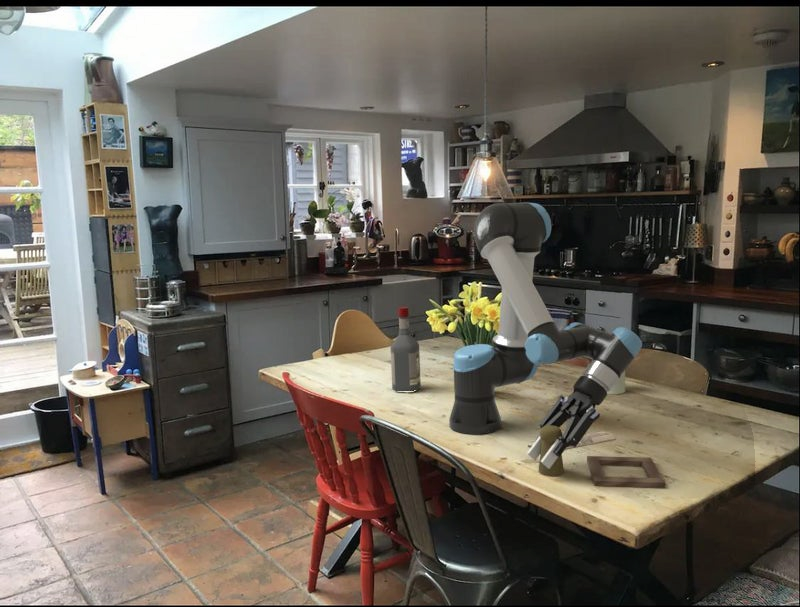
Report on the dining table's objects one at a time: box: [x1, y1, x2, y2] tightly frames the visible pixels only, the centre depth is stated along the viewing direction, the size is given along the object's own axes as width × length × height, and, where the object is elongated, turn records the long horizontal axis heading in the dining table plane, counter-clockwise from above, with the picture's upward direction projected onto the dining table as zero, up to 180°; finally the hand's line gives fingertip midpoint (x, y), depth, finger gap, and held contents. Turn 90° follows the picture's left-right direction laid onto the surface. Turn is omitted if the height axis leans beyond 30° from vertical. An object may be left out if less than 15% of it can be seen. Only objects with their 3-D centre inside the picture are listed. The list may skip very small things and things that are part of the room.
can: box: [607, 370, 626, 395], centre depth 218 cm, size 9×9×12 cm
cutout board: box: [586, 455, 666, 489], centre depth 149 cm, size 15×15×1 cm
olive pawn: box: [538, 425, 565, 477], centre depth 152 cm, size 6×6×11 cm
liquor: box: [390, 306, 422, 391], centre depth 228 cm, size 9×9×30 cm
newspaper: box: [527, 431, 616, 450], centre depth 170 cm, size 24×7×2 cm, turn 111°
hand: (537, 460), depth 150 cm, fingers closed on olive pawn, 5 cm apart
